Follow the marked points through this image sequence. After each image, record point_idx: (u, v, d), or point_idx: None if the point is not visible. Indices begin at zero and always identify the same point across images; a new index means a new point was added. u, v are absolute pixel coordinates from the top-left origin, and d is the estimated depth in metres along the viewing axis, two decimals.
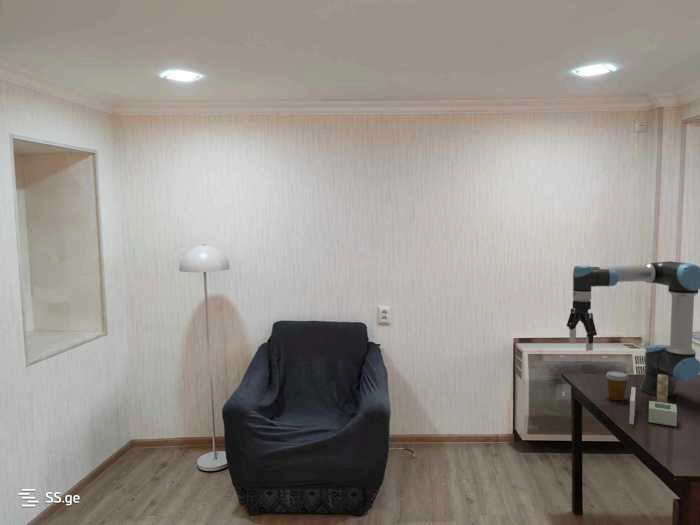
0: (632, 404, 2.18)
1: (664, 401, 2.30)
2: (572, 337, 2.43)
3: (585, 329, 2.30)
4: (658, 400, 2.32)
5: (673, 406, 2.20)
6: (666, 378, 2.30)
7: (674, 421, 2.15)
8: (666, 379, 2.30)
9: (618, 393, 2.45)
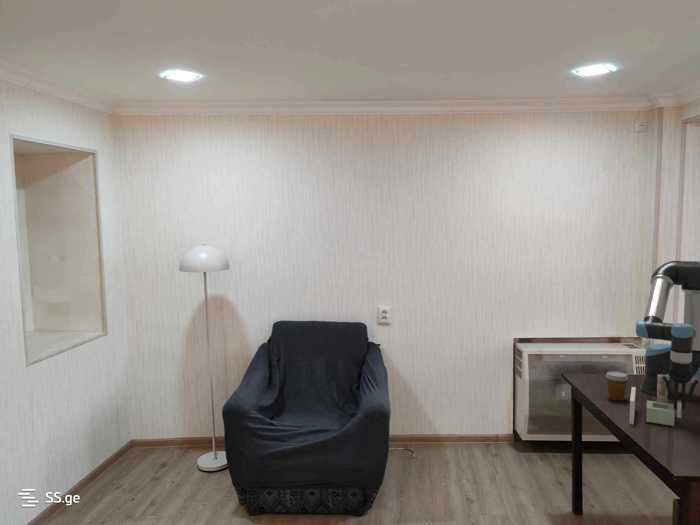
0: (632, 404, 2.18)
1: (664, 401, 2.30)
2: None
3: None
4: (658, 400, 2.32)
5: (671, 406, 2.21)
6: None
7: (672, 421, 2.15)
8: None
9: (618, 393, 2.45)
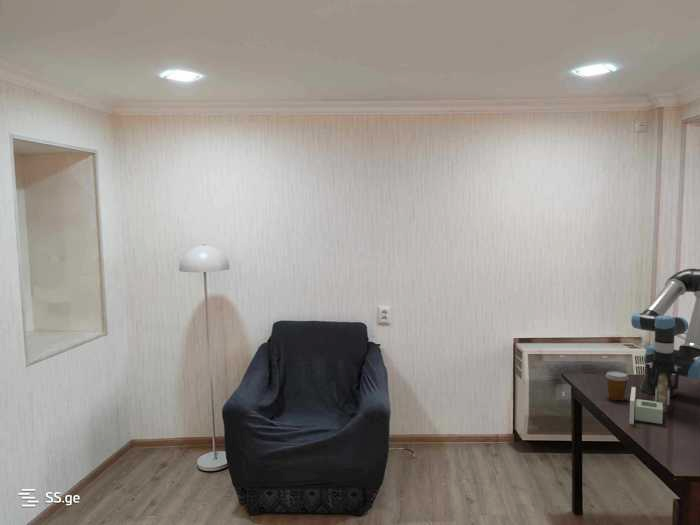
0: (632, 404, 2.18)
1: (664, 401, 2.30)
2: None
3: None
4: (658, 400, 2.32)
5: (659, 404, 2.23)
6: (666, 378, 2.30)
7: (660, 419, 2.17)
8: (666, 379, 2.30)
9: (618, 393, 2.45)
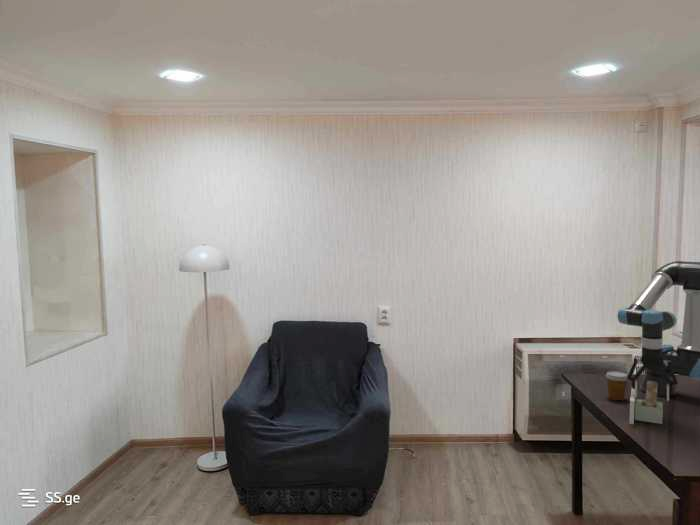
0: (632, 404, 2.18)
1: None
2: None
3: None
4: None
5: (659, 404, 2.23)
6: (655, 385, 2.20)
7: (660, 419, 2.17)
8: (655, 386, 2.20)
9: (618, 393, 2.45)
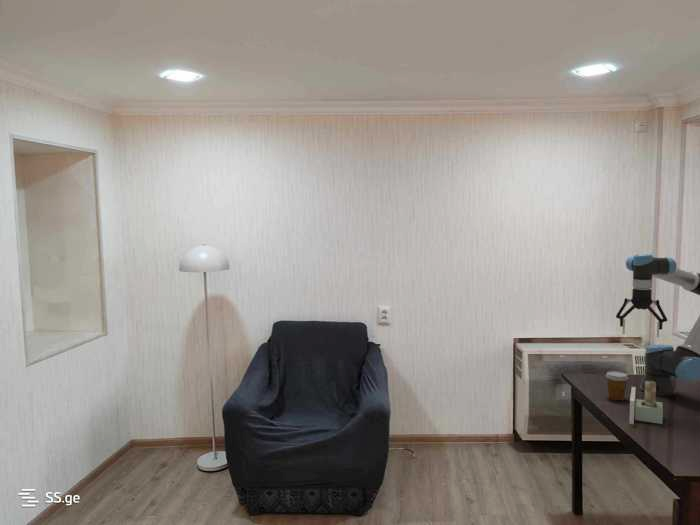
0: (632, 404, 2.18)
1: None
2: (657, 330, 2.34)
3: None
4: None
5: (659, 404, 2.23)
6: (654, 385, 2.21)
7: (660, 419, 2.17)
8: (654, 386, 2.21)
9: (618, 393, 2.45)
